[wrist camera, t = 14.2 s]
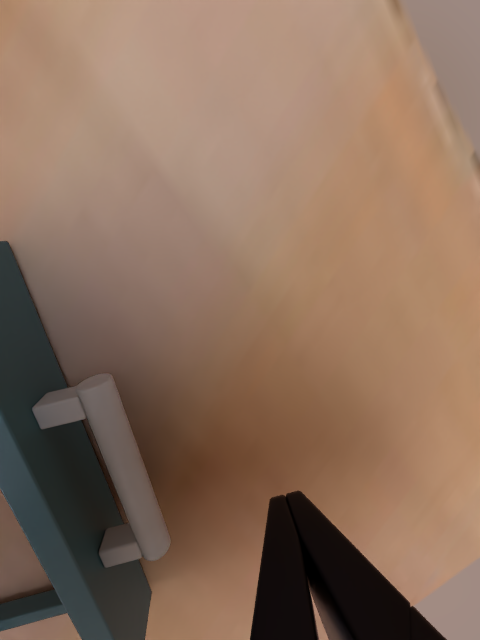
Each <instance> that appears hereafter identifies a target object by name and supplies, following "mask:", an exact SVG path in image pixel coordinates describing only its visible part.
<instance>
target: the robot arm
mask: <svg viewBox="0 0 480 640" xmlns="http://www.w3.org/2000/svg"><path fill="white" fill-rule="evenodd" d="M309 588H310V589H309ZM310 591H311V594H312V597H313V600H314V603H315V605H316V608H317V610H318V613H319V616H320V618H321V621H322V623H323V626H324V628H325V631H326V633H327V636H328V639H329V640H447V639H446V638H445V637H443V636H442V635H441V634H440V633H439V632H438V631H437V630H436V629H435V628H434V627H433V626H432V625H431V624H430V623H429V622H428V621H427V620H426V619H425V618H424V617H423V616H422V615H421V614H420V613H419V611H418V610H417V609H416V608H415V607H413V606H411V608H410V603H409V601H408V600H407V599H406V598H405V597H404V596H403V595H402V594H401V593H400V592H399V591H398V590H397V589H396V588H395V587H394V586H393V585H392V584H391V583H390V582H389V581H388V580H387V579H386V578H385V577H384V576H383V575H382V574H381V573H380V572H379V571H378V570H377V569H376V568H375V567H374V566H373V565H372V564H371V563H370V562H369V561H368V560H367V558H366V557H365V556H364V555H363V554H362V553H361V552H360V551H359V550H358V549H357V548H356V547H355V546H354V545H353V544H352V543H351V542H350V541H349V540H348V539H347V538H346V537H345V536H344V535H343V534H342V533H341V532H340V531H339V530H338V529H337V528H336V527H335V526H334V525H333V524H332V523H331V522H330V521H329V520H328V519H327V518H326V517H325V515H324V514H323V513H322V512H321V511H320V510H319V509H318V508H317V507H316V506H315V505H314V504H313V503H312V502H311V501H310V500H309V499H308V498H307V497H306V496H305V495H304V494H303V493H302V492H301V491H294V492H291V493H287V494H286V497H285V496H284V495H279V496H276V497H272V498H271V499H270V502H269V509H268V516H267V523H266V530H265V537H264V544H263V551H262V558H261V565H260V572H259V580H258V587H257V594H256V601H255V608H254V615H253V622H252V629H251V636H250V640H319V637H318V631H317V626H316V620H315V615H314V609H313V604H312V599H311V594H310Z"/></svg>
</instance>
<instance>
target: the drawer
mask: <svg viewBox="0 0 480 640" xmlns="http://www.w3.org/2000/svg"><path fill="white" fill-rule="evenodd" d="M86 417H87V419H88V422H89V424H90V427H91V429H92V432H93V434H94V437H95V439H96V441H97V444H98V446H99V449H100V451H101V454H102V456H103V459H104V461H105V464H106V466H107V469H108V471H109V474H110V476H111V479H112V481H113V484H114V486H115V489H116V491H117V494H118V496H119V499H120V501H121V503H122V506H123V508H124V511H125V513H126V516H127V518H128V521H129V523H126V524H124V523H123V521H122V518H121V516H120V513H119V511H118V509H117V506H116V504H115V501H114V499H113V496H112V494H111V492H110V489H109V487H108V484H107V482H106V479H105V477H104V474H103V472H102V470H101V467H100V465H99V462H98V460H97V457H96V455H95V453H94V450H93V448H92V445H91V443H90V440H89V438H88V436H87V433H86V431H85V428H84V426H83V423H82V421H81V420H83V419H85V418H86ZM0 489H1V491H2V493H3V495H4V497H5V498H6V500H7V502H8V504H9V506H10V508H11V510H12V511H13V513H14V515H15V517H16V519H17V521H18V522H19V524H20V526H21V528H22V530H23V532H24V534H25V535H26V537H27V539H28V541H29V543H30V545H31V547H32V548H33V550H34V552H35V554H36V556H37V558H38V559H39V561H40V563H41V565H42V567H43V569H44V571H45V572H46V574H47V576H48V578H49V580H50V582H51V584H52V585H53V587H54V590H50V591H46V592H43V593H39V594H35V595H32V596H28V597H24V598H20V599H17V600H13V601H9V602H6V603H2V604H0V631H3V630H7V629H11V628H14V627H18V626H21V625H25V624H29V623H32V622H36V621H39V620H43V619H47V618H50V617H54V616H58V615H61V614H65V613H68V615H69V617H70V619H71V620H72V622H73V624H74V626H75V628H76V630H77V632H78V633H79V635H80V637H81V639H82V640H145V636H146V628H147V621H148V614H149V607H150V600H151V593H152V591H151V589H150V587H149V584H148V582H147V579H146V577H145V574H144V572H143V569H142V567H141V565H140V562H139V560H138V559H140V558H141V557H142V556H143V557H144V559H146V560H148V561H155V560H158V559H159V558H161V557H162V556H164V555H165V553H166V552H167V551H168V549H169V547H170V543H171V538H170V535H169V532H168V529H167V527H166V524H165V521H164V518H163V515H162V513H161V510H160V507H159V504H158V502H157V499H156V496H155V493H154V490H153V488H152V485H151V482H150V479H149V476H148V474H147V471H146V468H145V465H144V462H143V460H142V457H141V454H140V451H139V449H138V446H137V443H136V440H135V437H134V435H133V432H132V429H131V426H130V423H129V421H128V418H127V415H126V412H125V410H124V407H123V404H122V401H121V398H120V396H119V393H118V390H117V387H116V384H115V382H114V379H113V376H112V375H111V374H109V373H102V374H97V375H94V376H91V377H89V378H87V379H85V380H83V381H82V382H80V383H79V384H78V385H77V386H74V387H69V388H68V387H67V384H66V382H65V380H64V377H63V375H62V372H61V370H60V367H59V365H58V362H57V360H56V358H55V355H54V353H53V350H52V348H51V345H50V343H49V341H48V338H47V336H46V333H45V331H44V328H43V326H42V324H41V321H40V319H39V316H38V314H37V311H36V309H35V306H34V304H33V302H32V299H31V297H30V294H29V292H28V289H27V287H26V285H25V282H24V280H23V277H22V275H21V272H20V270H19V268H18V265H17V263H16V260H15V258H14V255H13V253H12V250H11V248H10V246H9V243H8V242H7V241H0Z"/></svg>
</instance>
